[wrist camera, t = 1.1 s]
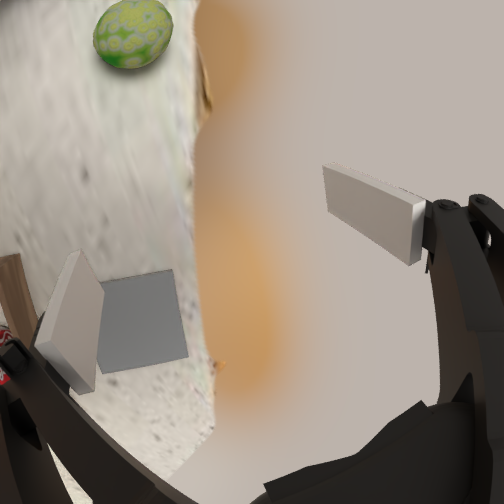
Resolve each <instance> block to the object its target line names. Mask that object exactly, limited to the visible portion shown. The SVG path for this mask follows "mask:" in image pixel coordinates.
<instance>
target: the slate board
mask: <svg viewBox="0 0 504 504" xmlns="http://www.w3.org/2000/svg"><path fill="white" fill-rule="evenodd" d="M100 285H101V287H102V288H103V290H104V292H105V293H104V300H103V307H102V314H101V321H100V330H99V339H98V348H97V361H98V364H99V367H100V369H101V372H102V374H106V373H112V372H118V371H123V370H129V369H134V368H139V367H145V366H150V365H155V364H159V363H164V362H169V361H173V360H178V359H182V358H187V357H189V356H188V351H187V347H186V342H185V337H184V332H183V327H182V322H181V317H180V311H179V306H178V300H177V295H176V289H175V283H174V277H173V271H172V269H171V270H166V271H161V272H155V273H150V274H144V275H139V276H133V277H128V278H122V279H117V280H111V281H106V282H100Z"/></svg>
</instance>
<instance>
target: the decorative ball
mask: <svg viewBox="0 0 504 504" xmlns="http://www.w3.org/2000/svg"><path fill="white" fill-rule="evenodd" d="M172 30H173V22H172V17H171V14H170V13H169V12H168V11H167V10H166V8H165V7H164V5H163V4H162V3H160V2H159V1H156V0H122V1H120V2H118V3H116V4H114V5H112V6H111V7H109V8H108V10H107V11H106V12H105V13H104V14H103V16H102V17H101V18H100V20H99V22H98V23H97V25H96V28H95V30H94V33H93V44H94V47H95V49H96V51H97V53H98V54H99V55H100V57H101V58H102V59H103V60H104V61H106V62H107V63H109V64H110V65H112V66H114V67H117V68H139V67H142V66H145V65H147V64H149V63H151V62H152V61H154V60H155V59H156V58H158V57H159V55H160V54H162V53H163V52H164V51H165V50H166V48H167V46H168V44H169V41H170V38H171V35H172Z"/></svg>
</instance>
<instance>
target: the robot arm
mask: <svg viewBox="0 0 504 504" xmlns="http://www.w3.org/2000/svg"><path fill="white" fill-rule="evenodd" d="M322 167H323V175H324V182H325V190H326V198H327V207H328V212H330V213H331V214H333V215H334V216H336V217H338V218H339V219H341V220H342V221H344V222H345V223H347V224H348V225H350V226H351V227H353V228H354V229H356V230H357V231H359V232H360V233H362V234H364V235H365V236H366V237H368V238H369V239H371V240H372V241H374V242H375V243H377V244H378V245H380V246H381V247H383V248H384V249H386V250H387V251H388V252H390V253H391V254H392V255H394V256H395V257H397V258H398V259H400V260H401V261H402V262H404V263H405V264H406V265H408V266H410V265H412V264H414V263H416V262H417V261H419V260H421V253H422V247H423V248H425V249H427V250H428V257H427V264H426V271H425V273H428V270H429V271H430V277H431V283H432V290H433V297H434V304H435V312H436V321H437V331H438V345H439V360H440V361H439V362H440V393H439V398H438V401H437V404H435V405H432V406H429V407H427V406H426V405H425V404H424V403H423V402H422V400H421V401H419V402H418V403H416V404H415V405H414V406H412V407H411V408H410V409H408V410H407V411H405V412H404V413H402V414H401V415H399V416H398V417H396V418H395V419H393V420H392V421H390V422H389V423H388V424H387V425H386V426H385V427H384V428H383V429H382V430H381V431H380V432H379V433H378V434H377V435H376V436H375V437H374V438H373V439H372V440H371V441H370V442H369V443H368V444H367V445H365V447H363V448H362V449H361V450H360V451H359V452H358V453H356V454H355V455H352V456H349V457H345V458H342V459H338V460H334V461H330V462H325V463H321V464H317V465H312V466H307V467H305V468H302V469H300V470H298V471H295V472H293V473H290V474H288V475H286V476H283V477H280V478H278V479H275V480H273V481H270V482H267V483H264V487H265V489H266V492H265V493H263V494H262V495H260V496H259V497H257V498H256V499H255V500H254V501H252V502H251V503H250V504H504V209H503V208H501V207H500V206H499V205H498V204H497V203H496V202H495V201H494V200H492V199H491V198H489V197H487V196H485V195H483V194H474V195H471V196H469V204H468V206H465V207H461V206H460V205H459V204H458V203H456V202H454V201H451V200H445V199H443V200H442V199H441V200H436V201H434V202H433V203H432V202H430V201H428V200H426V199H423V198H421V197H419V196H417V195H414V194H413V193H410V192H408V191H406V190H403V189H401V188H398V187H396V186H393V185H391V184H389V183H386V182H383V181H381V180H379V179H376V178H374V177H371V176H369V175H366V174H364V173H361V172H358V171H356V170H353V169H351V168H348V167H345V166H343V165H340V164H337V163H330V164H326V165H323V166H322ZM489 235H491V246H490V245H489V244H488V240H489ZM104 293H105V292H104V290H103V288H102V287H101V285H100V283H99V281H98V279H97V278H96V276H95V274H94V272H93V270H92V268H91V266H90V264H89V263H88V261H87V259H86V257H85V255H84V253H83V251H82V249H80V250H77V251H75V252H73V253H70V254H69V256H68V258H67V260H66V262H65V264H64V267H63V269H62V271H61V274H60V276H59V278H58V281H57V283H56V286H55V288H54V291H53V293H52V296H51V298H50V301H49V304H48V306H47V309H46V311H44V313H43V314H42V316H41V317H40V319H39V320H38V323H37V326H36V330H35V331H34V334H33V337H32V340H31V344H30V347H29V350H28V349H27V348H26V347H25V345H24V344H23V343H22V342H21V340H20V339H19V338H17V337H14V338H11V339H9V340H8V341H6V342H5V343H4V344H3V345H2V346H1V347H0V368H1V369H2V370H3V371H4V372H5V373H6V374H7V375H8V377H9V378H10V380H8V381H7V382H5V383H4V384H2V385H1V384H0V504H73V502H72V500H71V498H70V496H69V494H68V492H67V490H66V488H65V485H64V483H63V481H62V479H61V477H60V474H59V472H58V470H57V467H56V465H55V462H54V460H53V457H52V455H51V452H50V450H49V447H48V444H49V446H50V447H51V449H52V450H53V452H54V453H55V454H56V456H57V457H58V459H59V460H60V461H61V463H62V464H63V465H64V467H65V468H66V469H67V470H68V472H69V473H70V474H71V475H72V477H73V478H74V479H75V480H76V482H77V483H78V484H79V485H80V486H81V488H82V489H83V490H84V491H85V492H86V493H87V494H88V495H89V497H90V498H91V499H92V500H93V501H94V502H95V503H96V504H198V503H196V502H195V501H193V500H192V499H190V498H188V497H187V496H185V495H184V494H183V493H181V492H179V491H178V490H177V489H175V488H174V487H172V486H171V485H169V484H168V483H167V482H165V481H164V480H162V479H161V478H160V477H158V476H157V475H156V474H154V473H153V472H152V471H150V470H149V469H148V468H147V467H145V466H144V465H143V464H142V463H140V462H139V461H138V460H137V459H135V458H134V457H133V456H132V455H131V454H129V453H128V452H127V451H126V450H125V449H124V448H123V447H121V446H120V445H119V444H118V443H117V442H116V441H115V440H114V439H113V438H111V437H110V436H109V435H108V434H107V433H106V432H105V431H104V430H103V429H102V428H101V427H100V426H99V425H98V424H97V423H96V422H95V421H94V420H93V419H92V418H91V417H90V416H89V415H88V414H87V413H86V412H85V411H84V410H83V409H82V408H81V407H80V406H79V404H78V403H77V402H76V401H75V400H74V399H73V398H72V397H71V396H70V395H69V389H70V387H71V388H72V389H73V390H74V391H75V392H76V393H77V394H78V395H82V394H86V393H90V392H94V391H95V374H96V360H97V348H98V339H99V330H100V321H101V314H102V307H103V300H104ZM47 443H48V444H47Z"/></svg>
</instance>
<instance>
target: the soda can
mask: <svg viewBox="0 0 504 504" xmlns="http://www.w3.org/2000/svg"><path fill="white" fill-rule="evenodd" d="M11 338H13V336H12V334H11V331H10V330H9V329H7V328H5V327H1V326H0V347H1V346H2V345H3V344H4V343H5V342H6V341H8V340H9V339H11ZM8 380H10V378H9V377H8V375H7V374H6V373H5V372H4V371H3V370H2V369H1V368H0V384H1V385H2V384H4V383H5V382H7V381H8Z"/></svg>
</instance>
